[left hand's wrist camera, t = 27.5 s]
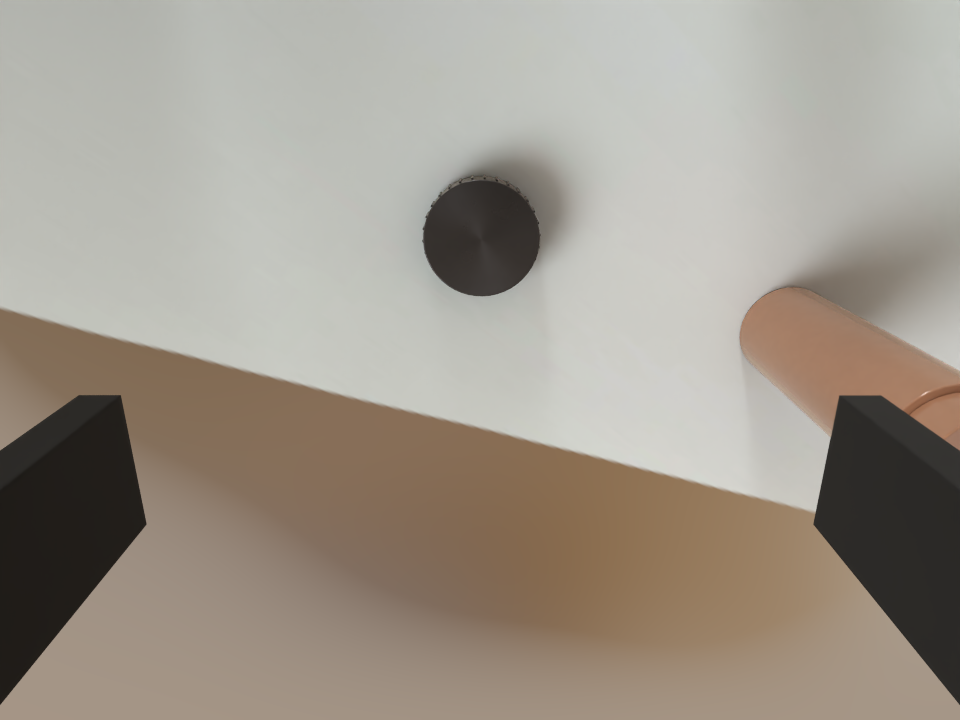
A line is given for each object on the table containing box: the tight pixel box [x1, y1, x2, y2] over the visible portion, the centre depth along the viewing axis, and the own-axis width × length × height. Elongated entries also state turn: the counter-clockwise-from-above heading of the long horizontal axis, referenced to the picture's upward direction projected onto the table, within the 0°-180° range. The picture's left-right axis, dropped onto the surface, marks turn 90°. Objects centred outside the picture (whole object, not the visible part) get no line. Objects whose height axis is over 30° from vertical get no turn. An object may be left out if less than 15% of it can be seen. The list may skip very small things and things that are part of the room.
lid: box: [423, 175, 540, 296], centre depth 37 cm, size 6×6×2 cm
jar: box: [740, 287, 960, 450], centre depth 32 cm, size 6×6×17 cm
